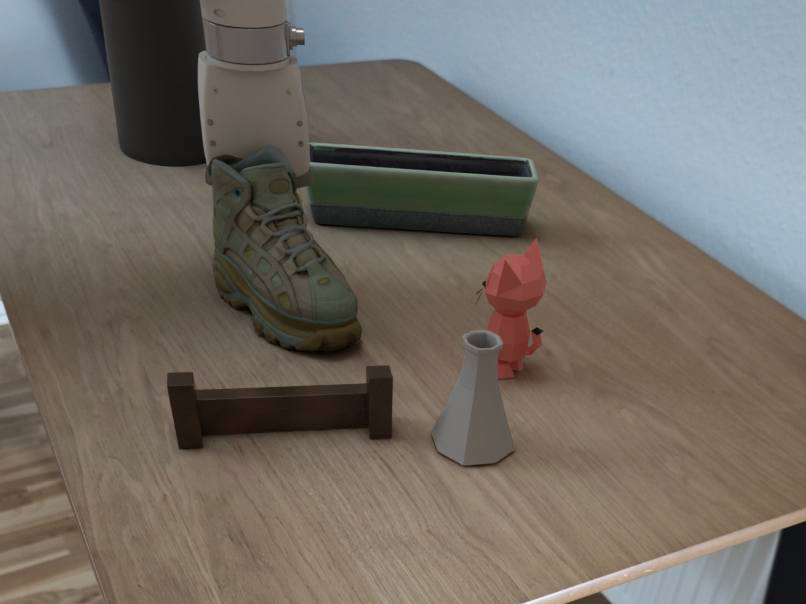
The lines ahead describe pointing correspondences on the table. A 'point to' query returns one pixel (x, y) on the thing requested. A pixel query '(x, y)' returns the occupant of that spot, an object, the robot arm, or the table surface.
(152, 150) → the vase
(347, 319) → the sneaker
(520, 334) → the cat figurine
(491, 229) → the planter
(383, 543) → the table surface
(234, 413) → the wooden hurdle
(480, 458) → the flask
